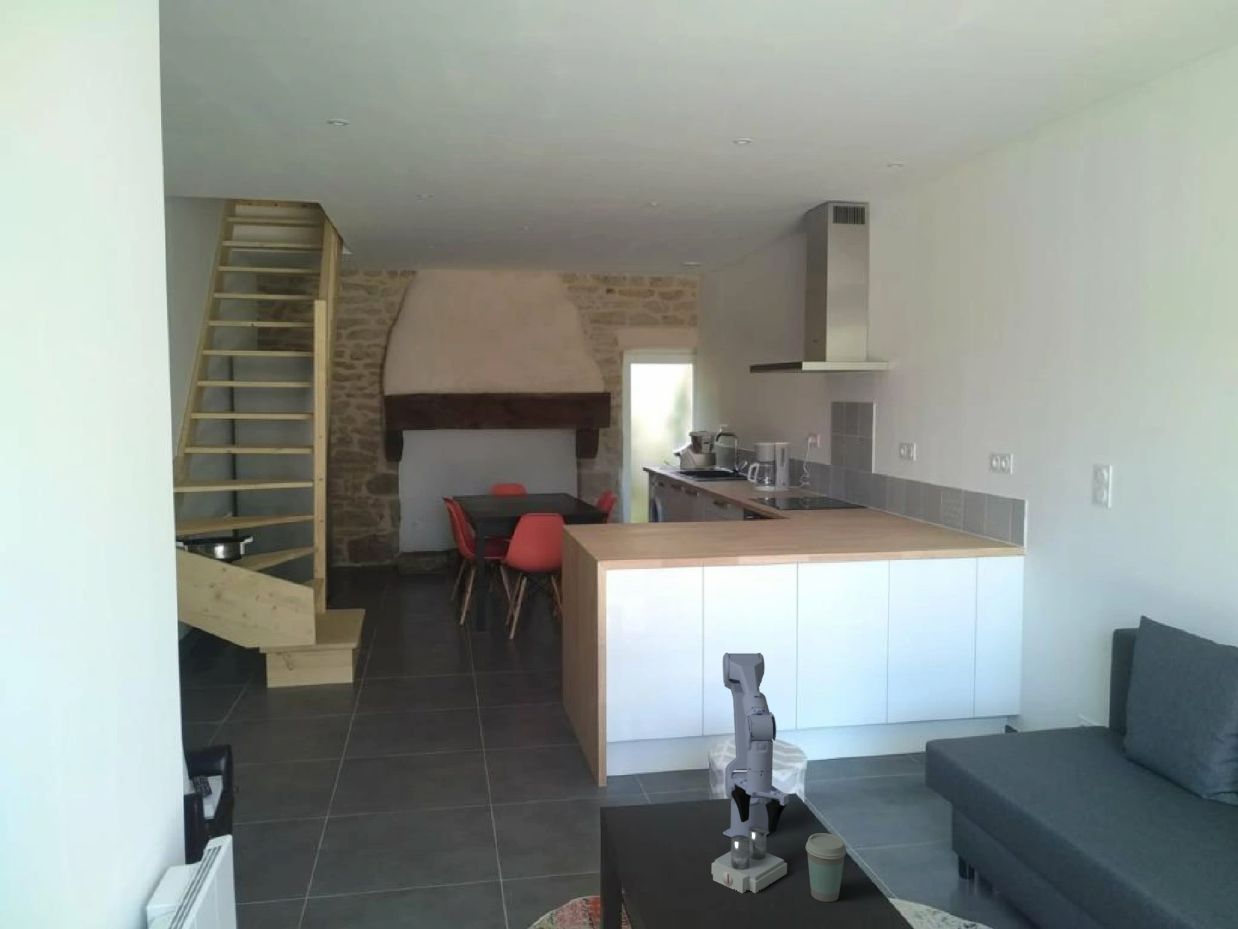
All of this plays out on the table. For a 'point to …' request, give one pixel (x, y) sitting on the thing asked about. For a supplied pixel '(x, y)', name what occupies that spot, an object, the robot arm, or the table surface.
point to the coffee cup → (825, 865)
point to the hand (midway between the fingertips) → (758, 826)
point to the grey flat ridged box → (748, 873)
